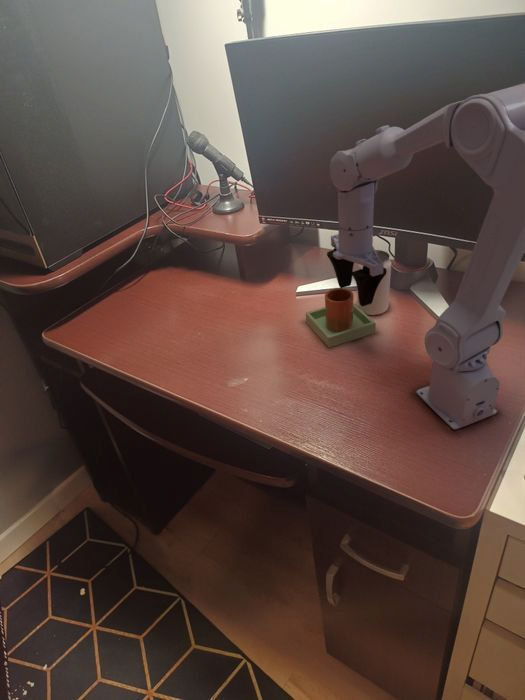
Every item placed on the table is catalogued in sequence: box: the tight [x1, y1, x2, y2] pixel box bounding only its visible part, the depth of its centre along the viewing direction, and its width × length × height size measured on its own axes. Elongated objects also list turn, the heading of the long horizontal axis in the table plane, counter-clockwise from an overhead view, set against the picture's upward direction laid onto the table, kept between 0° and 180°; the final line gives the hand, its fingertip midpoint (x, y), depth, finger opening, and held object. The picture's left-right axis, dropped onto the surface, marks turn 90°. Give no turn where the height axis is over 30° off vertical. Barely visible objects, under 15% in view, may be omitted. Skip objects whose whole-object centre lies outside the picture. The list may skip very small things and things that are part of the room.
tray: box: [305, 302, 377, 348], centre depth 93 cm, size 10×10×2 cm
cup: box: [324, 287, 354, 333], centre depth 91 cm, size 5×5×7 cm
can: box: [356, 249, 392, 316], centre depth 94 cm, size 6×6×12 cm
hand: (355, 294), depth 85 cm, fingers open, 7 cm apart
